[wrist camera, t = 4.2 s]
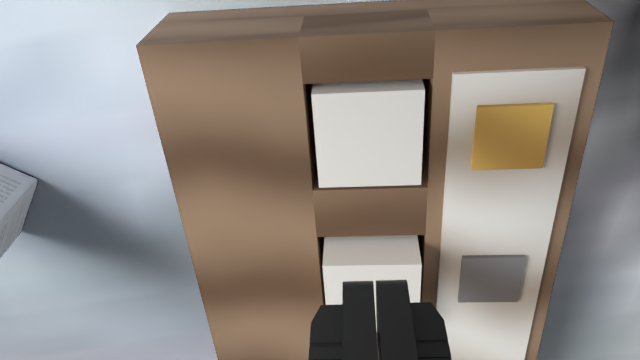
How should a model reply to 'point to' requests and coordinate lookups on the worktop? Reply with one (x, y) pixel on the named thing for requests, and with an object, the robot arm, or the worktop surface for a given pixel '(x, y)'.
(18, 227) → the skincare box
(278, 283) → the button board
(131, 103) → the worktop surface
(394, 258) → the button middle
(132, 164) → the worktop surface
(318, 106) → the button
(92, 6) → the worktop surface
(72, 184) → the worktop surface
